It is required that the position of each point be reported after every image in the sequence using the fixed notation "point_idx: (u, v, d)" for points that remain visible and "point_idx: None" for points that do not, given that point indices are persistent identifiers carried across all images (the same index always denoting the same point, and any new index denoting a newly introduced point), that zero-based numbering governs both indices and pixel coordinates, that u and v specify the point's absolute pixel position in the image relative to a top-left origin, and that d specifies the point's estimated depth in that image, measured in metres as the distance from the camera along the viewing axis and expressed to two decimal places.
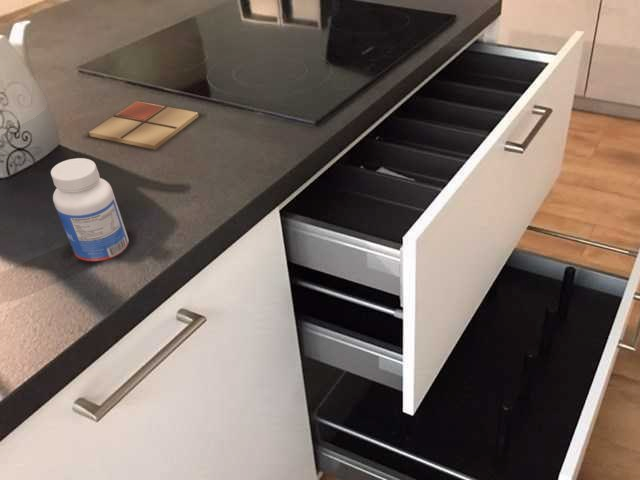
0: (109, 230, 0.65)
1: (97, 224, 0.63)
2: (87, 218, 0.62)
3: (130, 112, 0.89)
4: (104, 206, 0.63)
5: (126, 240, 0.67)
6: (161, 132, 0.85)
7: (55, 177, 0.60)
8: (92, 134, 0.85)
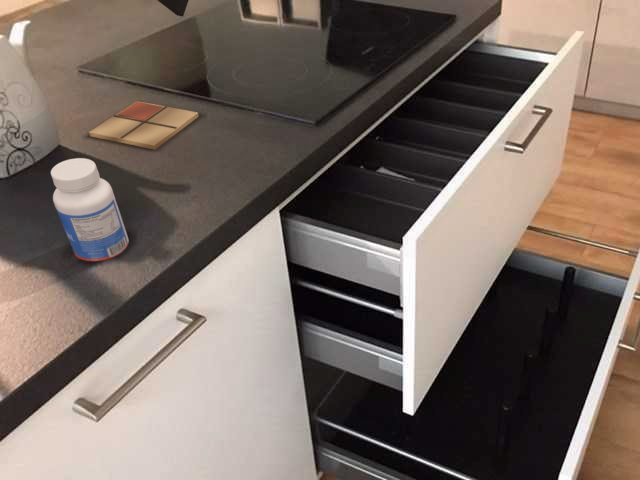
0: (109, 230, 0.65)
1: (97, 224, 0.63)
2: (87, 218, 0.62)
3: (130, 112, 0.89)
4: (104, 206, 0.63)
5: (126, 240, 0.67)
6: (161, 132, 0.85)
7: (55, 177, 0.60)
8: (92, 134, 0.85)
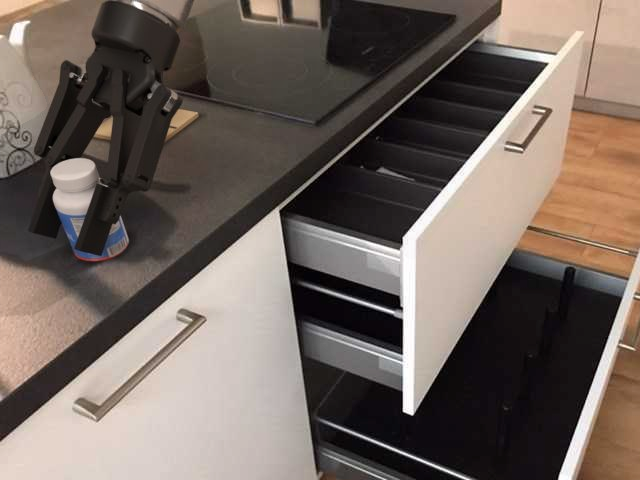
0: None
1: None
2: None
3: None
4: None
5: (126, 240, 0.67)
6: None
7: (55, 177, 0.60)
8: None
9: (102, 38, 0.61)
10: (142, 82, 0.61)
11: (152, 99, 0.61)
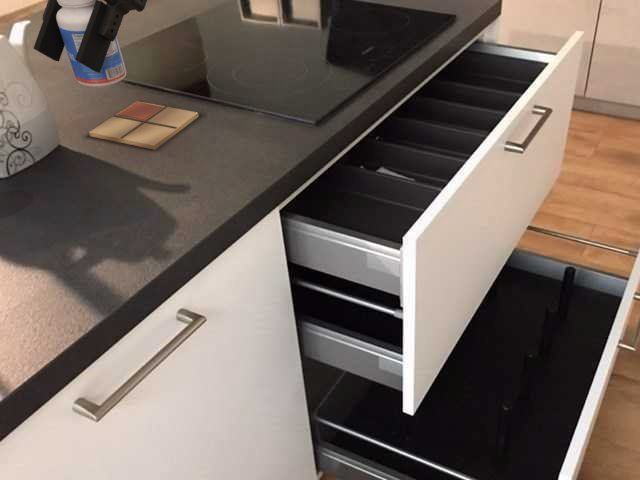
0: None
1: None
2: None
3: (130, 112, 0.89)
4: None
5: (123, 67, 0.73)
6: (161, 132, 0.85)
7: None
8: (92, 134, 0.85)
9: None
10: None
11: None
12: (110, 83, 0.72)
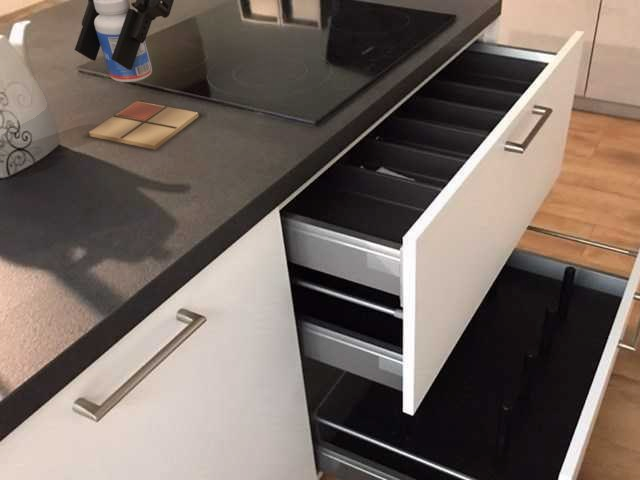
0: None
1: None
2: None
3: (130, 112, 0.89)
4: None
5: (150, 65, 0.86)
6: (161, 132, 0.85)
7: (97, 1, 0.79)
8: (92, 134, 0.85)
9: None
10: None
11: None
12: (139, 79, 0.85)
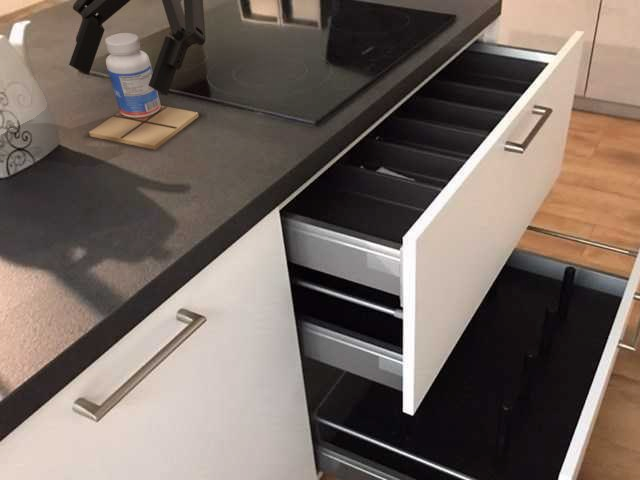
0: (147, 88, 0.86)
1: (138, 83, 0.85)
2: (131, 76, 0.84)
3: None
4: (144, 69, 0.84)
5: (158, 101, 0.89)
6: (161, 132, 0.85)
7: (109, 43, 0.82)
8: (92, 134, 0.85)
9: None
10: None
11: None
12: (148, 114, 0.88)
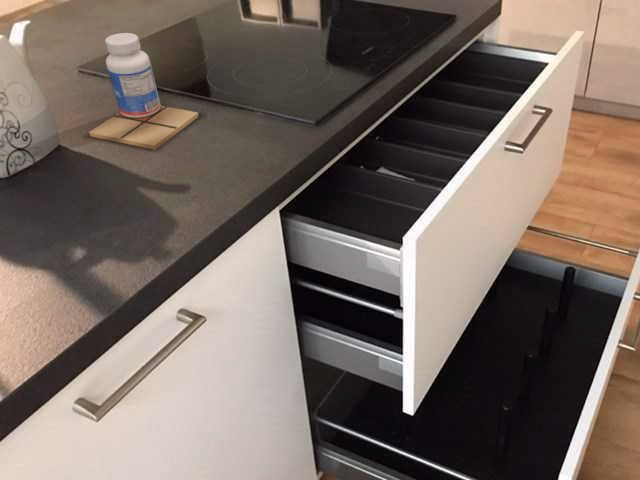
0: (147, 88, 0.86)
1: (138, 83, 0.85)
2: (131, 76, 0.84)
3: None
4: (144, 69, 0.84)
5: (158, 101, 0.89)
6: (161, 132, 0.85)
7: (109, 43, 0.82)
8: (92, 134, 0.85)
9: None
10: None
11: None
12: (148, 114, 0.88)
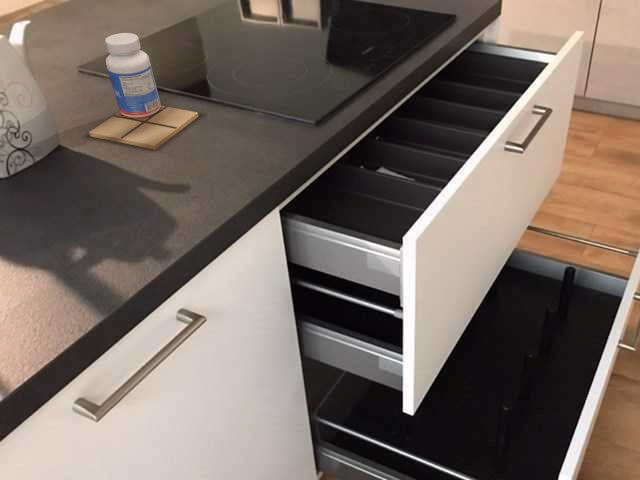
0: (147, 88, 0.86)
1: (138, 83, 0.85)
2: (131, 76, 0.84)
3: None
4: (144, 69, 0.84)
5: (158, 101, 0.89)
6: (161, 132, 0.85)
7: (109, 43, 0.82)
8: (92, 134, 0.85)
9: None
10: None
11: None
12: (148, 114, 0.88)
